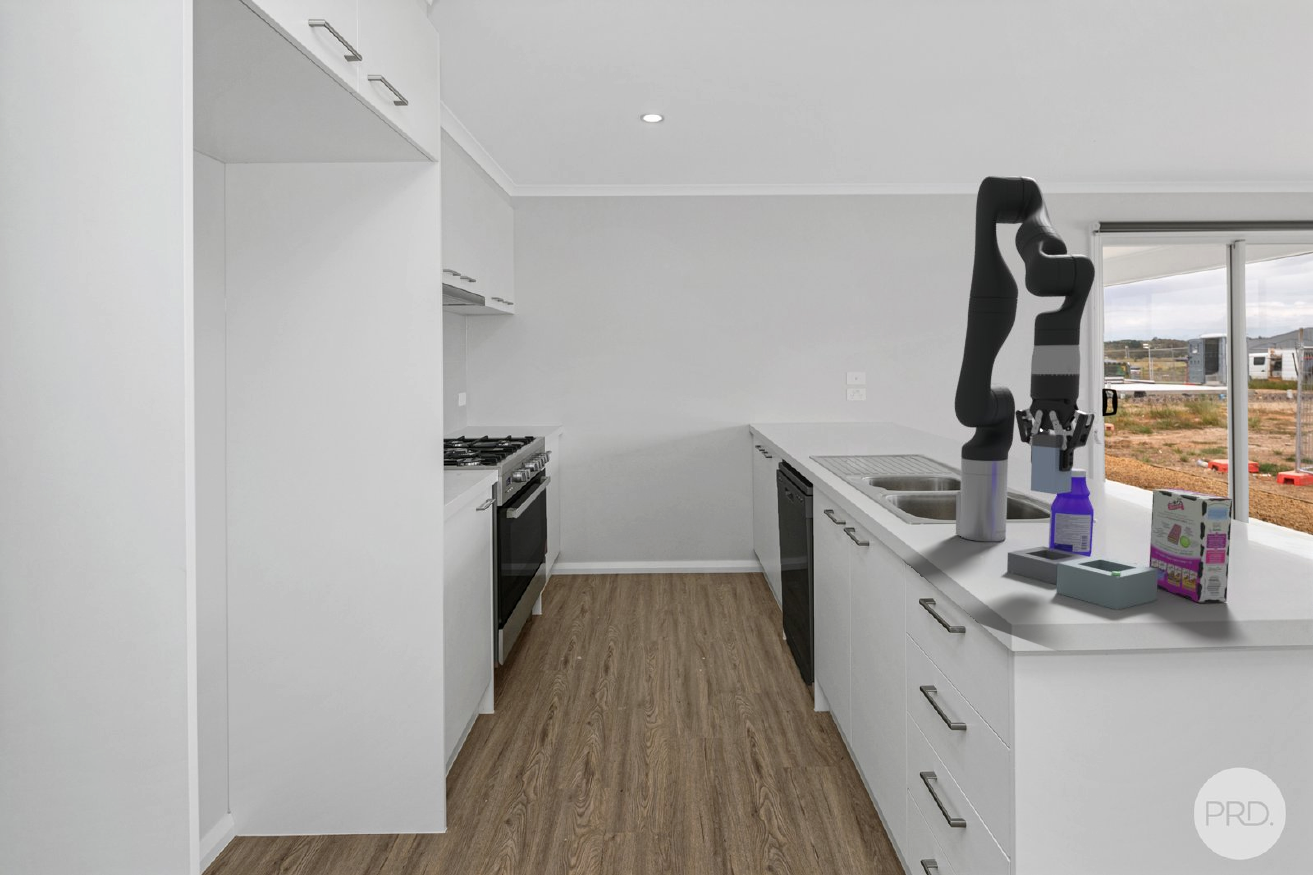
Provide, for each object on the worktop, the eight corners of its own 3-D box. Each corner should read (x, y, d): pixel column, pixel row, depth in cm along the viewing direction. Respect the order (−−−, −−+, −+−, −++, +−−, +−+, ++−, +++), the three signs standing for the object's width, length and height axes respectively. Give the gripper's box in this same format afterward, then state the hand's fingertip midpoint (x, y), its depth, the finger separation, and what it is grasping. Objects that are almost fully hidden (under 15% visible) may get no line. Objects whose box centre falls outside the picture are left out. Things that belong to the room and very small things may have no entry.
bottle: (1088, 557, 147) (1091, 467, 145) (1094, 564, 141) (1098, 471, 140) (1046, 554, 149) (1049, 466, 148) (1051, 561, 144) (1054, 470, 142)
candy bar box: (1229, 603, 118) (1235, 498, 116) (1199, 604, 117) (1204, 499, 116) (1174, 582, 129) (1179, 487, 127) (1146, 584, 128) (1150, 488, 127)
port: (1056, 592, 124) (1057, 560, 123) (1095, 584, 128) (1096, 553, 128) (1117, 609, 115) (1118, 574, 115) (1156, 600, 119) (1158, 566, 119)
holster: (1007, 571, 137) (1007, 552, 137) (1042, 564, 141) (1042, 546, 141) (1055, 584, 129) (1056, 564, 128) (1091, 576, 133) (1091, 557, 133)
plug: (1030, 490, 135) (1032, 434, 134) (1047, 488, 137) (1049, 433, 136) (1054, 494, 131) (1055, 436, 130) (1070, 491, 133) (1072, 434, 132)
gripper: (1109, 372, 127) (1104, 473, 129) (1033, 371, 140) (1029, 463, 141) (1079, 372, 124) (1075, 476, 125) (1005, 372, 137) (1001, 466, 138)
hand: (1051, 468), depth 133 cm, fingers closed on plug, 4 cm apart
